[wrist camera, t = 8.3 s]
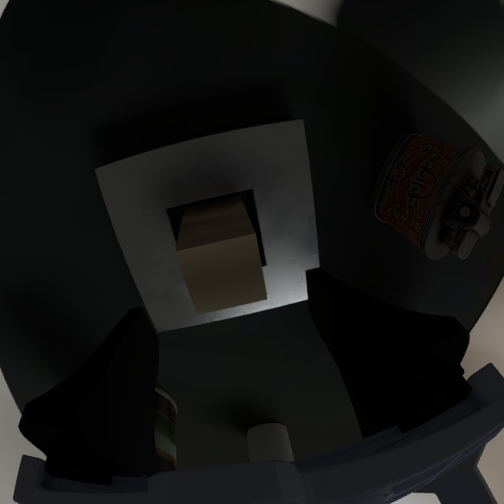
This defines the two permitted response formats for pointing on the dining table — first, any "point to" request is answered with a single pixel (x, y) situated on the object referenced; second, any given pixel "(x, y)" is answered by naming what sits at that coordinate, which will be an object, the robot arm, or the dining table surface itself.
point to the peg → (220, 256)
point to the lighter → (437, 194)
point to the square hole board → (208, 186)
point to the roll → (269, 443)
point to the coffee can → (165, 430)
